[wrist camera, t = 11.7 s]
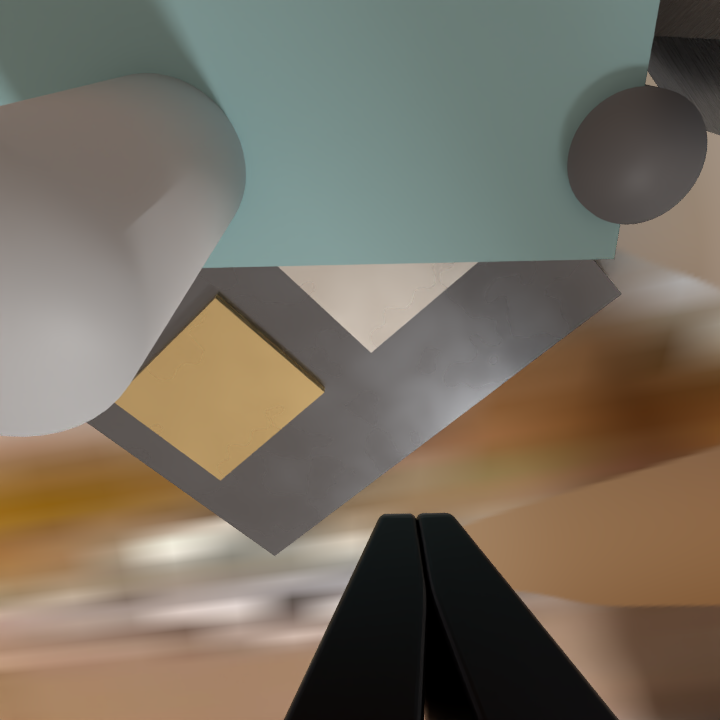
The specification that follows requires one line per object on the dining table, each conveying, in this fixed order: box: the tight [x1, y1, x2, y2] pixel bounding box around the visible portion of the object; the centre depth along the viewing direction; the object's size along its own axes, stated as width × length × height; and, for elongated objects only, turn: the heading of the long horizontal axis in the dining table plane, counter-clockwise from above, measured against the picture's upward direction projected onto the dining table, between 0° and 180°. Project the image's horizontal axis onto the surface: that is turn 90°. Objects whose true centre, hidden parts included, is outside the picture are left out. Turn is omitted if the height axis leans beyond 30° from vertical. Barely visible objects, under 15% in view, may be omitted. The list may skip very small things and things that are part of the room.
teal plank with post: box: [0, 0, 707, 437], centre depth 11 cm, size 8×18×11 cm, turn 91°
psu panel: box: [87, 0, 720, 556], centre depth 16 cm, size 14×22×5 cm, turn 134°
